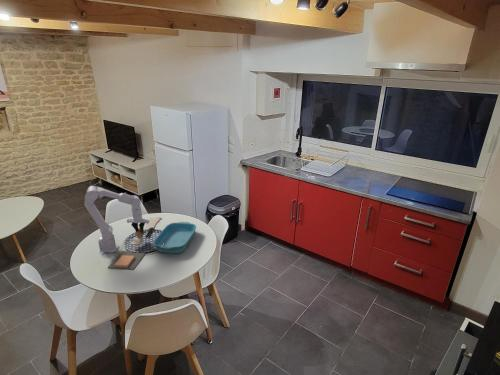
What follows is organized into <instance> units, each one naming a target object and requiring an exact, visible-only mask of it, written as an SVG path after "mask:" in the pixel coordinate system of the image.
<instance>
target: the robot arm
mask: <svg viewBox="0 0 500 375" xmlns="http://www.w3.org/2000/svg"><path fill="white" fill-rule="evenodd" d="M103 197H107V198H111V199H116V200H117V201H118V202H120V203H123V204H127V205H130V206H131V214H132V218H127V220H126V222H127V224H129V223H131V224H130V225H131V227H132V228H133V229H134V231H135V233H136V232H137V230H138V229H139V227H140V231H141V233H142V232H143V229H144V227H145V224H147V225H148V223H149V221H150V220H149V219H147V218H146V219H145V218H143V213H142V207H141V200H140V197H139V196H138V195H136V194H134V195H132V194H131V195H130V194H128V193H127V192H124V193H123V192H121V193H117V192H114V191H111V190H109V189H106V188H104V187H100V186H96V185H89V186H88V188H87V189H86V190H85V196H84V204H83V205H84V207H85V209H86V210H87V212H88V213H89V215H90V216H91V218H92V219H93V220H94V222H95V224H96V225H97V227H98V228H99V231H100V233H101V236H100V237H99V238H98V248H99V252H100V253H114V252H115V251H116V250H117V249H118V248H119V247H120V246H119V245H116V238H115V235H114V234H113V230H114V229H113V227H112V226H111V225H109V223H108V222H106V220H105V219H104V217H103V216H102V214H101V213H100V211H99V209H98V207H97V206H96V205H95V201H96V200H97V199H101V198H103Z"/></svg>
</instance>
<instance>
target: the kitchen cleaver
mask: <svg viewBox="0 0 500 375" xmlns="http://www.w3.org/2000/svg"><path fill="white" fill-rule="evenodd" d="M161 219H162V217H161V216H157V217H151V218H150V220H149V223H148V224H147V225H146V227H145V229H144V230H147V232H146V235H145V236H146V237H148V236H149V235H150V234H151V235H152V233H153V231H152V230H154V228H155V226H156V224H157V223H158V222H159V221H160V220H161ZM151 232H152V233H151ZM151 235H150V236H151Z"/></svg>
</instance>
